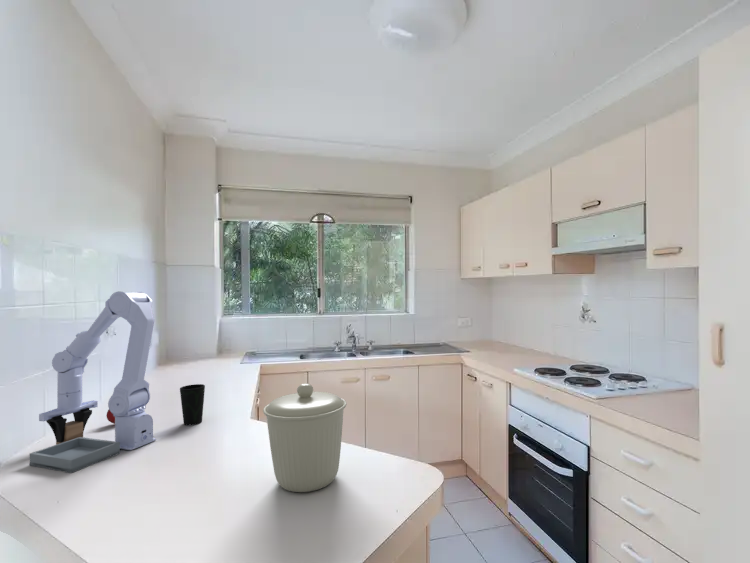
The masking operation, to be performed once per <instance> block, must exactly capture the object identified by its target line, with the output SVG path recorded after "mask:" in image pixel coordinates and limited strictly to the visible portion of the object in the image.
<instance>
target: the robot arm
mask: <svg viewBox="0 0 750 563" xmlns="http://www.w3.org/2000/svg"><path fill="white" fill-rule="evenodd" d="M153 302H154V301H153V300H152V298H150V296H149V295H148V294H147V293H145V292H143V291H137V292H136V291H135V292H133V291H115V292H113V293H112V294H111V295H110V296H109V298H108V299H107V300H105V307H104V308H103V310H102V311H101V312H100V313H99V315H98V316H97V318H96V319H95V320H94V322H93V323H92V324H91V325H90V327H89V328H88V329H87V330H82V331H80V332H78V333H76V335H75V338H74V340H72V342H71V343H70V344H69V345H67V346H66V347H65V349H64V350H62V351H58V352H56V353H55V354H54V356H53V358H52V361H51V364H52V368H53V370H55V371H56V372H57V393H56V394H57V400H56V401H57V405H56V406H57V408H54V409H52V410H51V409H50V410H48V411H44V412H41V413H39V414H38V421H39V422H46V423H47V424H48V426H50V429H51V430H52V432H53V435H54V437H55V443H56V442H60V443H61V442H64V430H65V424H66V423H67V422H68V421H67V418H66V417H65V418H64V416H67V415H70V414H72V416H73V421H81V422H83V433H84V432H85V427H86V425H87V423H88V420H89V419H90V417H91V415H92V413H93V408H95V409H96V408H98V402H99V401H98V400H89V401H84V402H83V374H84V373H85V367H86V366H87V365H88V360H89V358H88V357H89V356H90V355H91V353H92V352H93V351H95V349H96V348H97V347H98V345H99V344H100V343H101V336H102V335H103V334H104V333H105V332H106V331H107V330H108V328H110V327H111V326H112V325H113V323H115V322H116V320H118V319H119V318H122V319H124V320H125V321H126V322H128V324H130V326H131V327H130V333H129V337H128V345H127V348H126V356H125V360H124V365H123V371H122V377H121V379H120V381H119V382H117V384H116V386H114V388H113V391H112V392H113V393H112V395H111V396H110V397H109V399H108V403H107V404H108V405H107V407H108V410H110V411H111V413H113V416H115V424H114V441H115V442H120V449H121V450H126V451H132V450H135V449H138V448H140V447H142V446H146V445H148V444H150V443H152V442H155V441H156V438H155V437H154V421H153V417H152V415H150V414H149V413H147V412H146V411H145V410H146V408H147V407H146V406H147V405H148V403H150V400H151V393H150V383H149V382H148V381H147V380H146V379H145V377H146V376H145V374H146V370H147V369H146V368H147V364H148V358H149V352H150V348H151V342H152V335H153V331H154V325H155V317H154V313H153V310H152V308H153V307H152V306H153Z"/></svg>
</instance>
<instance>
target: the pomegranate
mask: <svg viewBox="0 0 750 563" xmlns="http://www.w3.org/2000/svg"><path fill="white" fill-rule="evenodd" d="M105 417H106V419H107V421H108V422H110V423H111V424H113V425H115V416H113V413H111V411H110V410H109V409H107V412H106V416H105Z"/></svg>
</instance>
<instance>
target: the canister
mask: <svg viewBox="0 0 750 563" xmlns="http://www.w3.org/2000/svg"><path fill="white" fill-rule="evenodd" d="M346 407H347V401H346V400H345V399H344V398H342V397H340V396H339V395H337V394H334V393H331V392H327V391H314V387H313V385H311V384H310V383H301V384H299V385H298V386H297V389H296V392H295V393H289V394H286V395H282V396H279V397H277V398H275V399H273V400H272V401H270V402H269V403H268V404H266V405H265V406H264V407H263V409H262V412H263V414H264V416H266V425H267V431H268V439H269V446H270V452H271V459H272V466H273V471H274V472H273V473H274V476H275V479H276V481H277V484H278V485H279V486H280V487H281V488H282V489H284V490H285V491H289V492H293V493H309V492H313V491H317V490H321V489H323V488H325V487H327V486H328V485H330V484H331V483H333V481H334V480H335V479H336V476H337V475H338V472H339V468H340V462H341V460H340V458H341V449H342V448H341V447H342V438H343V437H342V436H343V426H344V425H343V421H344V409H345V408H346Z"/></svg>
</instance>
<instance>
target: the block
mask: <svg viewBox="0 0 750 563" xmlns="http://www.w3.org/2000/svg"><path fill="white" fill-rule="evenodd" d="M78 437H84V432H83V422H81V421H75V420H71V421H66V424H65V430H64V442H66V441H69V440H72V439H75V438H78ZM61 443H63V442H61ZM57 444H60V442H56V441H55V445H57Z"/></svg>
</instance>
